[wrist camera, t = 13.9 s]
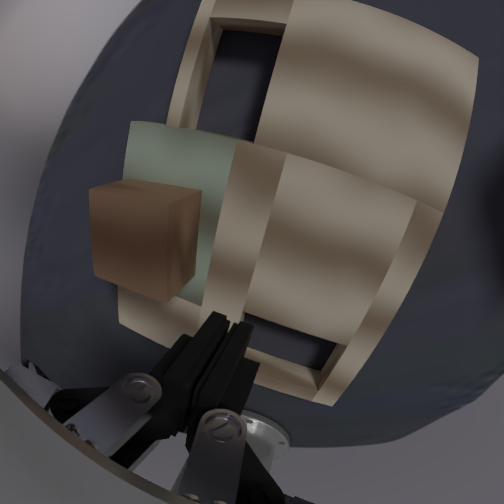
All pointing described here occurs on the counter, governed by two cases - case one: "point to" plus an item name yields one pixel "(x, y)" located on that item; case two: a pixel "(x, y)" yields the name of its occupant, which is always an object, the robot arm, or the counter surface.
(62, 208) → the counter surface
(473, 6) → the counter surface
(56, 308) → the counter surface
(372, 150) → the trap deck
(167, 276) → the walnut block
